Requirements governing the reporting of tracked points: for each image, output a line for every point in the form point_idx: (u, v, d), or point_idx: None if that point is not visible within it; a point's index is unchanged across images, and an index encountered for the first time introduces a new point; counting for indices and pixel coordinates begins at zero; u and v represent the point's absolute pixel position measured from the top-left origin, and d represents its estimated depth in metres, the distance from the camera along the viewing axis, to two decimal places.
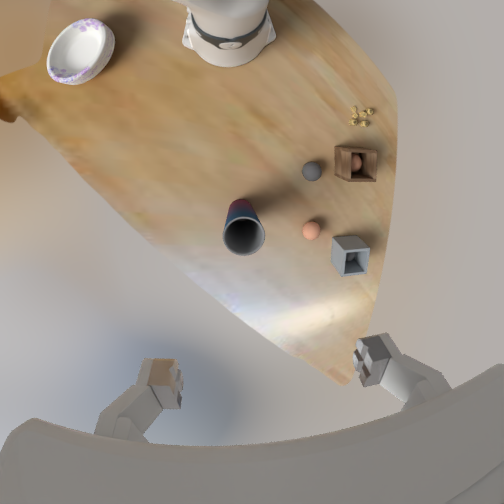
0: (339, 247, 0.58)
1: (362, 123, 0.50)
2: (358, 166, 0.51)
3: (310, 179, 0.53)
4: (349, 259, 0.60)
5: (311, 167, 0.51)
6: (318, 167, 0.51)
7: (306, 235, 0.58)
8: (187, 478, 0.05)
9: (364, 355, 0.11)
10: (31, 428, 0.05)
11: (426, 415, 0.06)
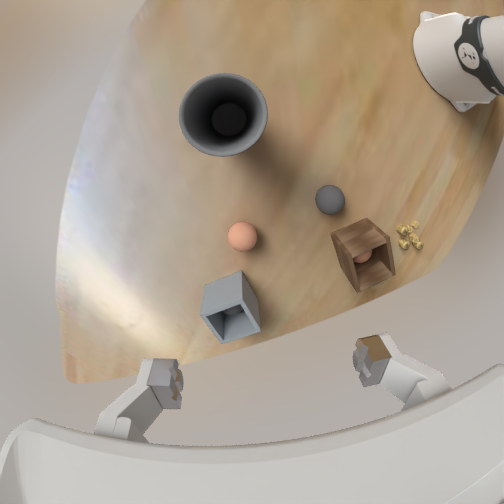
0: (238, 289, 0.38)
1: (404, 241, 0.40)
2: (361, 260, 0.37)
3: (321, 201, 0.34)
4: (225, 310, 0.40)
5: (339, 196, 0.34)
6: (342, 206, 0.34)
7: (233, 232, 0.36)
8: (187, 478, 0.05)
9: (364, 355, 0.11)
10: (31, 428, 0.05)
11: (427, 415, 0.06)
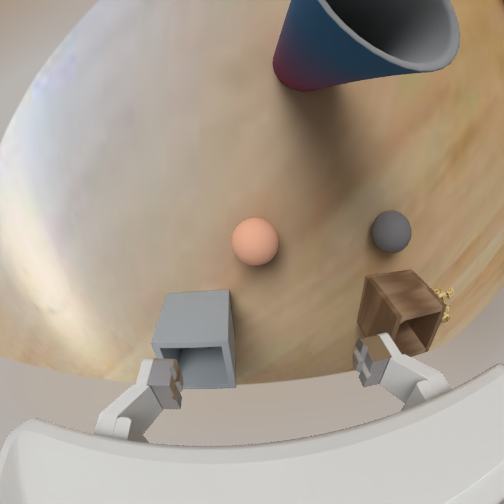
0: (221, 319, 0.23)
1: None
2: None
3: (385, 230, 0.22)
4: None
5: (409, 231, 0.22)
6: None
7: (247, 231, 0.21)
8: (187, 478, 0.05)
9: (364, 355, 0.11)
10: (31, 428, 0.05)
11: (427, 415, 0.06)
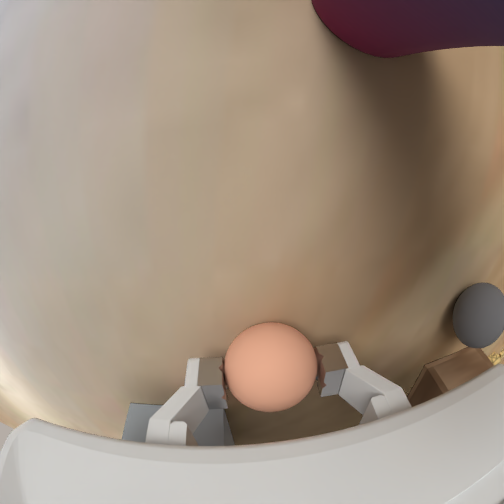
0: None
1: None
2: None
3: (481, 323, 0.10)
4: None
5: None
6: None
7: (258, 368, 0.09)
8: (187, 478, 0.05)
9: (321, 364, 0.10)
10: (31, 428, 0.05)
11: (427, 415, 0.06)
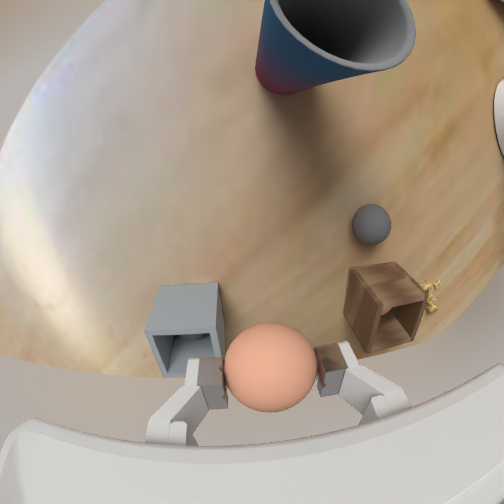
0: (210, 308, 0.24)
1: None
2: None
3: (364, 222, 0.24)
4: None
5: (389, 223, 0.23)
6: (386, 237, 0.24)
7: (258, 368, 0.09)
8: (187, 478, 0.05)
9: (321, 364, 0.10)
10: (31, 428, 0.05)
11: (427, 415, 0.06)
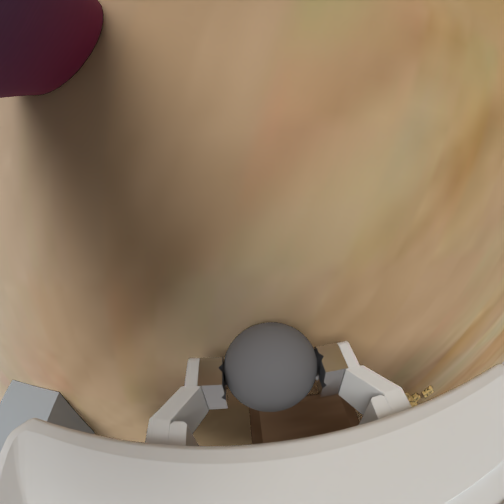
0: None
1: None
2: None
3: (235, 381, 0.10)
4: None
5: (303, 384, 0.09)
6: None
7: None
8: (187, 478, 0.05)
9: (321, 364, 0.10)
10: (31, 428, 0.05)
11: (427, 415, 0.06)
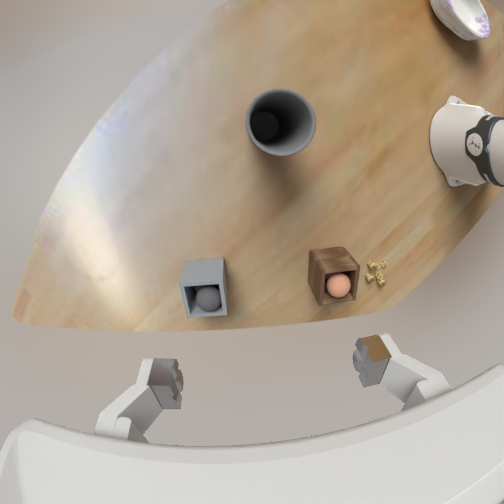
0: (219, 271, 0.41)
1: (370, 275, 0.48)
2: (330, 273, 0.44)
3: (203, 305, 0.40)
4: (197, 286, 0.43)
5: (219, 301, 0.41)
6: None
7: (340, 291, 0.41)
8: (187, 478, 0.05)
9: (364, 355, 0.11)
10: (31, 428, 0.05)
11: (427, 414, 0.06)
